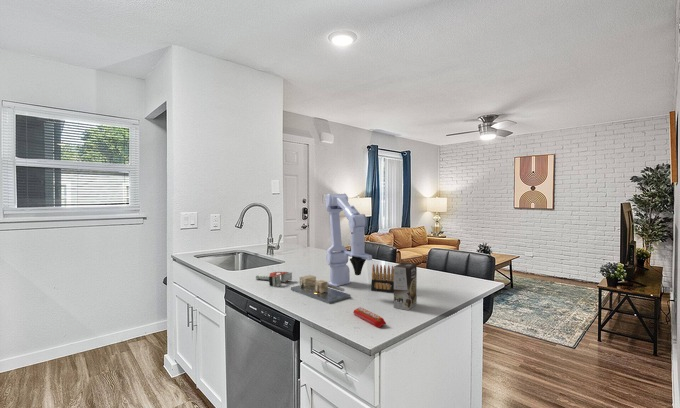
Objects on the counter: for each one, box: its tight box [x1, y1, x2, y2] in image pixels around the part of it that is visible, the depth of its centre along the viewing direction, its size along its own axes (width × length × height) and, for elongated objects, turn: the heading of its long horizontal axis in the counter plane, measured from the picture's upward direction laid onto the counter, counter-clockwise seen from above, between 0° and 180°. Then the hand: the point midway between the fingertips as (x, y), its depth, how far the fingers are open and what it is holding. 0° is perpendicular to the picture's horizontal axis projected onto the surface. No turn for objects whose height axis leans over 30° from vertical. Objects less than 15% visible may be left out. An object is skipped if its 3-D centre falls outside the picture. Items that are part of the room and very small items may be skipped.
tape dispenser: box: [255, 271, 293, 288], centre depth 169 cm, size 18×5×20 cm
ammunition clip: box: [370, 264, 394, 294], centre depth 151 cm, size 11×2×12 cm, turn 68°
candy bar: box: [353, 306, 387, 329], centre depth 116 cm, size 16×4×3 cm, turn 31°
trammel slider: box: [315, 279, 329, 293], centre depth 147 cm, size 4×4×4 cm
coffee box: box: [393, 262, 418, 311], centre depth 131 cm, size 9×6×16 cm
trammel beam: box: [299, 274, 346, 292], centre depth 149 cm, size 7×24×4 cm, turn 42°
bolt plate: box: [290, 284, 352, 304], centre depth 148 cm, size 12×27×1 cm, turn 42°
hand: (357, 274), depth 143 cm, fingers closed
